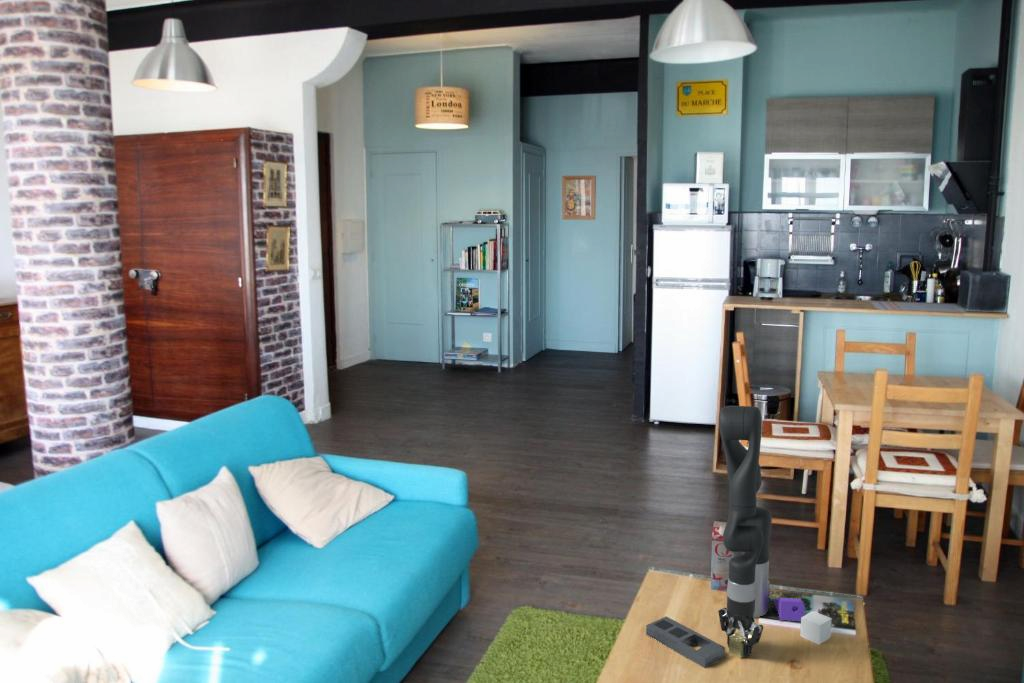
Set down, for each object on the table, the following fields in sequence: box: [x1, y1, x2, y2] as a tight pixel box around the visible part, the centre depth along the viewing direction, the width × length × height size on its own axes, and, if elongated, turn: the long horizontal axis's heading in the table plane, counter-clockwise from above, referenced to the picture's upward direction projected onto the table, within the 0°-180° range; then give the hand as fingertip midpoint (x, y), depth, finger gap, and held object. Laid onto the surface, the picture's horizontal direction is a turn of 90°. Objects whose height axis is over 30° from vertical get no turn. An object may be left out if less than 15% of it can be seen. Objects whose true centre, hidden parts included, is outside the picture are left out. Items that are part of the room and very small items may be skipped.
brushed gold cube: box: [728, 631, 749, 660], centre depth 236 cm, size 4×5×5 cm
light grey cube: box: [800, 610, 833, 645], centre depth 243 cm, size 6×6×6 cm
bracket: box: [773, 597, 806, 621], centre depth 258 cm, size 12×7×7 cm, turn 172°
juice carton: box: [710, 520, 736, 592], centre depth 274 cm, size 7×7×22 cm
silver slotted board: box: [645, 615, 726, 669], centre depth 240 cm, size 8×22×3 cm, turn 37°
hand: (739, 651), depth 236 cm, fingers closed on brushed gold cube, 4 cm apart
